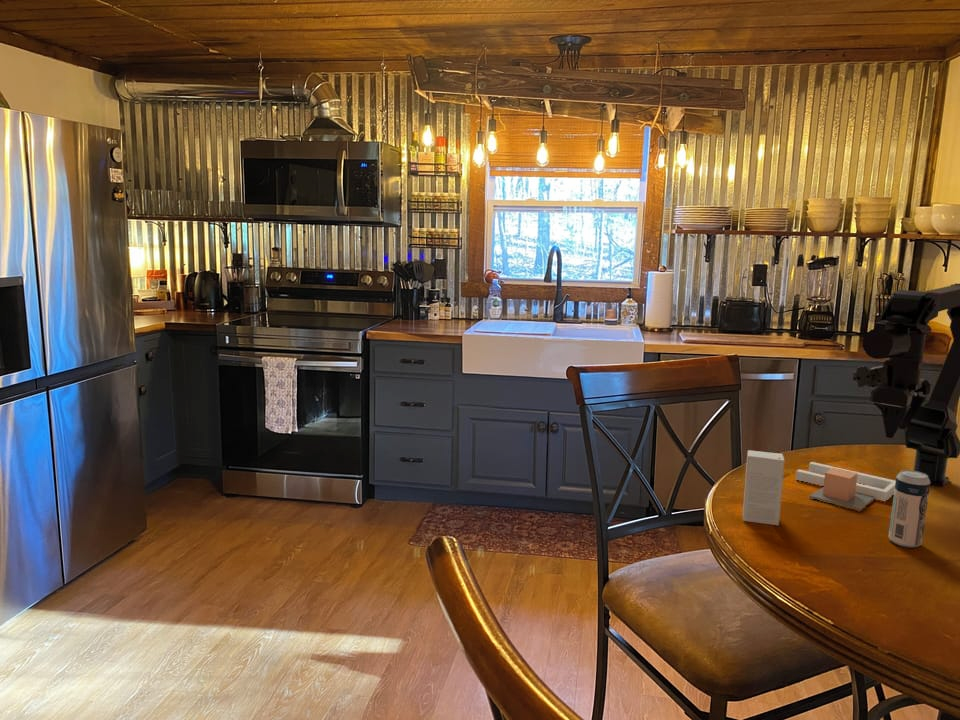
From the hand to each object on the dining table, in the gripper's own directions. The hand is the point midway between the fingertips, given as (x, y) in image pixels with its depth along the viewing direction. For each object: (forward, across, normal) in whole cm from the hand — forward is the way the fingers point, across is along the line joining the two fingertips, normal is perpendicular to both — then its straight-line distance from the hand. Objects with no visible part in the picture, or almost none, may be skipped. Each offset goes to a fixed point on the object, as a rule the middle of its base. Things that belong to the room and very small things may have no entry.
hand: (895, 433), depth 141 cm
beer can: (+12, +26, +9) cm, 30 cm away
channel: (+12, +3, -8) cm, 14 cm away
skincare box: (+12, +34, -12) cm, 38 cm away
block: (+11, +12, -6) cm, 17 cm away
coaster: (+12, +12, -5) cm, 18 cm away
